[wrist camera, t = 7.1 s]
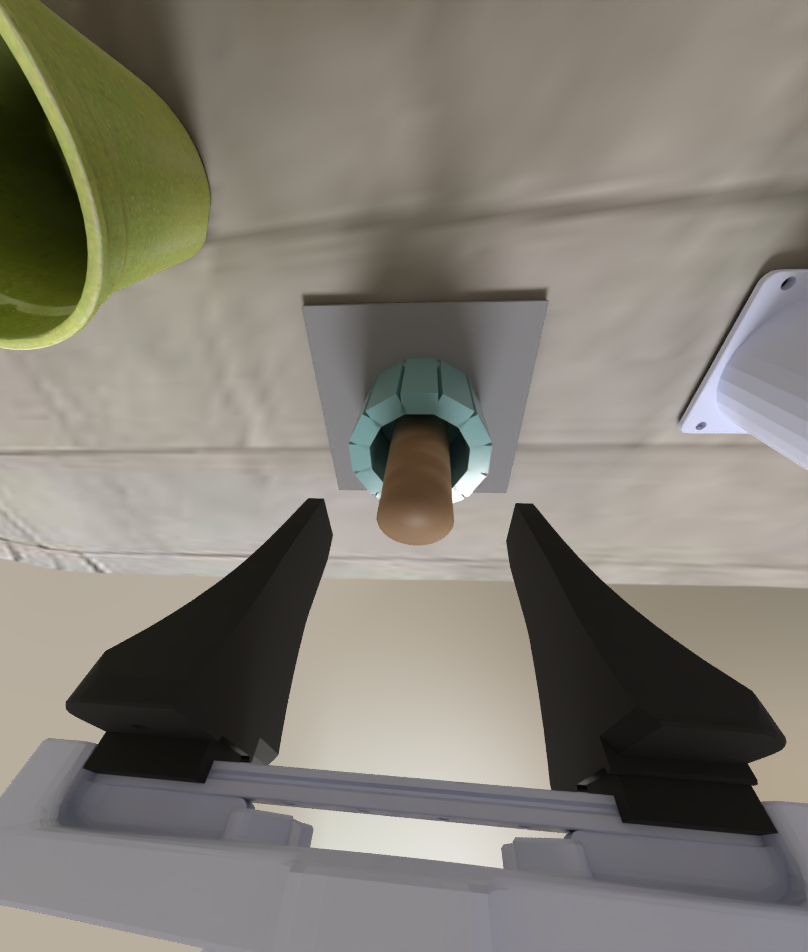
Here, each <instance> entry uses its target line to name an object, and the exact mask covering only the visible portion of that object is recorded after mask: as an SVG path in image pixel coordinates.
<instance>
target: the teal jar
mask: <svg viewBox="0 0 808 952" xmlns="http://www.w3.org/2000/svg"><path fill="white" fill-rule="evenodd" d="M404 414H434V415H436V416H438V417H440V418H442V419H444V420H445V421H447V425H448V440H449V455H450V470H451V485H452V500H453V503H455V502H458V501H461V500H463V499H464V496H467V497H468V496H469V495H470V494H471V493H472V491H473V490H474V489H475V488H476V487H477V486H478V485H479V484H480V483H481V482H482V481H483V479H484V478H485V477H486V473H488V470H489V464H490V458H491V452H492V443H491V442H492V441H491V437H490V434H489V431H488V427H487V424H486V420H485V417H484V413H483V410H482V407H481V403H480V400H479V398H478V396H477V394H476V392H475V390H474V388H473V386H472V384H471V382H470V380H469V378H468V376H467V377H466V375H465V373H463V372H462V371H460V370H458V369H456V368H455V367H453V366H451V365H450V364H448V363H446V362H445V361H443V360H441V359H440V361H439V360H437V358H407V359H406V360H405V361H404V360H401V361H400V362H398V363H396V364H395V365H393V366H391V367H390V368H388V369H386V370H385V371H383V372H381V373H380V374H379V375H378V377H376V378H375V380H374V382H373V384H372V386H371V388H370V390H369V392H368V394H367V397H366V399H365V401H364V403H363V406H362V408H361V411H360V414H359V416H358V419H357V421H356V424H355V427H354V429H353V432H352V434H351V437H350V439H349V441H350V442H349V444H348V445H349V451H350V457H351V463H352V470H353V471H355V474H354V475H355V476H356V477H357V478H358V479H359V480H360V482H361V483H362V484H363V485H364V486H365V487H366V488H367V490H368V491H369V492H370V493H371V494H372V495H373V494H376V496H375V497H376V498H378V499H380V496H381V491H382V486H383V481H384V475H385V470H386V465H387V460H388V455H389V449H390V444H391V439H392V434H393V429H394V423H395V419H397V418H399V417H401V416H402V415H404Z"/></svg>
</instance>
